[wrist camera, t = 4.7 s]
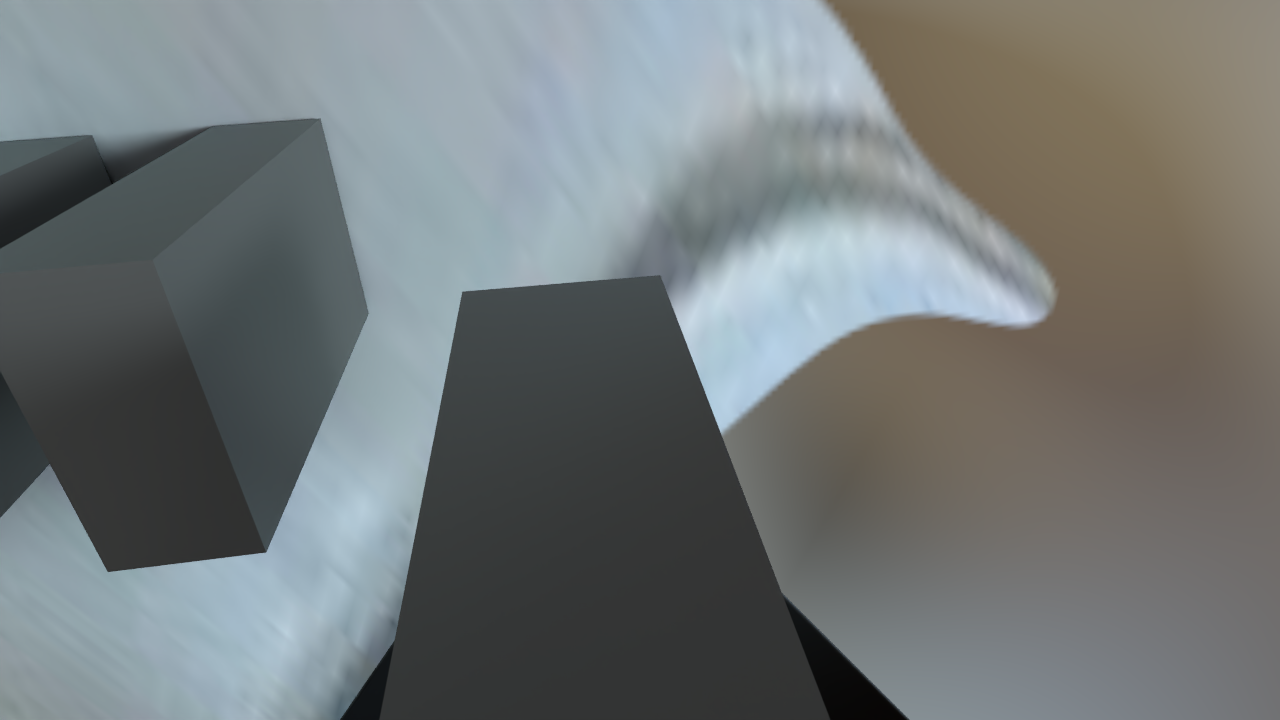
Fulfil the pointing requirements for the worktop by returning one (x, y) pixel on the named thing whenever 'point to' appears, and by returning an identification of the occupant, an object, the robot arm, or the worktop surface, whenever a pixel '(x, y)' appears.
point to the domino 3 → (587, 529)
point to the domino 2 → (186, 340)
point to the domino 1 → (8, 209)
